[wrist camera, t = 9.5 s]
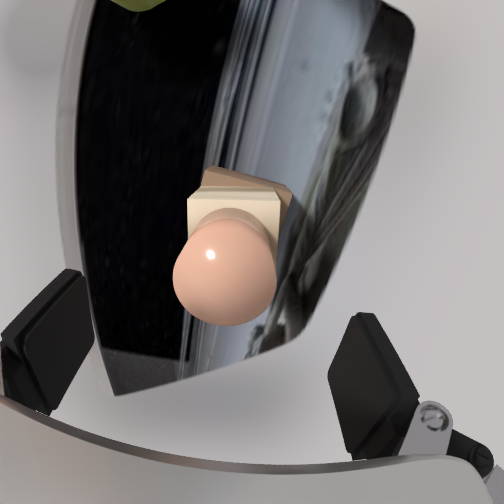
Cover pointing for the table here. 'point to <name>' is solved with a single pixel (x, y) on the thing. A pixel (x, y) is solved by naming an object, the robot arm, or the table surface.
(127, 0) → the plant pot
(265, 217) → the beech block
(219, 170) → the walnut block
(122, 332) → the table surface
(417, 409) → the robot arm
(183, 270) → the peach rounded solid
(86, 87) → the table surface
